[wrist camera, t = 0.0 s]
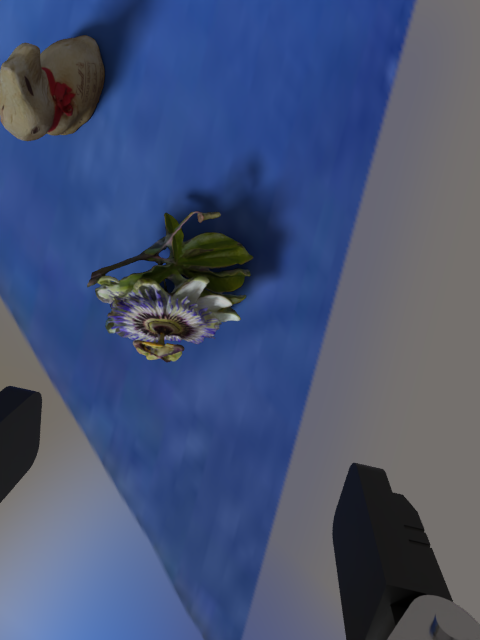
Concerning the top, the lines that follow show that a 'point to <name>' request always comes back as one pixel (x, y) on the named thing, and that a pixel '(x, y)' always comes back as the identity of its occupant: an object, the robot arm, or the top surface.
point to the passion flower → (175, 291)
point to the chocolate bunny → (50, 87)
